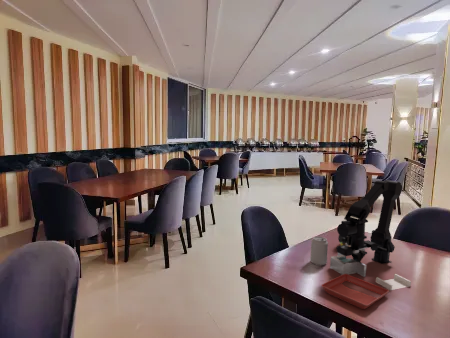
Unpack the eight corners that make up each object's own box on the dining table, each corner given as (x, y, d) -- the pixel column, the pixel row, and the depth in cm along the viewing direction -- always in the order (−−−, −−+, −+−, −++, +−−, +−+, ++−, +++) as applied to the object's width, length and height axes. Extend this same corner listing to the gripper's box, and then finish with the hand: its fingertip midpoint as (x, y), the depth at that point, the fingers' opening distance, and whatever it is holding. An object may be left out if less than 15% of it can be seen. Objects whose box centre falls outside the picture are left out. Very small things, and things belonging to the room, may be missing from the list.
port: (338, 262, 146) (339, 251, 145) (365, 277, 131) (366, 265, 130) (324, 264, 143) (324, 253, 142) (349, 280, 128) (350, 267, 127)
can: (327, 266, 141) (329, 241, 139) (310, 265, 142) (312, 240, 141) (325, 260, 148) (327, 236, 147) (309, 258, 150) (311, 235, 148)
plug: (349, 267, 141) (350, 258, 140) (356, 271, 137) (357, 261, 137) (337, 269, 138) (337, 260, 138) (343, 273, 134) (344, 263, 134)
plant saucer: (344, 280, 129) (345, 272, 128) (389, 298, 115) (390, 289, 115) (319, 293, 117) (320, 285, 117) (366, 315, 104) (367, 305, 103)
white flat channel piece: (395, 279, 130) (395, 273, 130) (410, 287, 123) (411, 281, 123) (375, 283, 126) (376, 277, 126) (390, 291, 119) (390, 285, 119)
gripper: (360, 225, 148) (358, 256, 150) (328, 230, 142) (327, 262, 143) (379, 232, 138) (377, 265, 140) (346, 237, 131) (345, 272, 133)
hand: (356, 265), depth 139 cm, fingers closed
